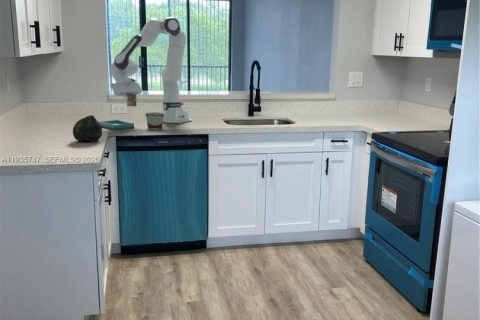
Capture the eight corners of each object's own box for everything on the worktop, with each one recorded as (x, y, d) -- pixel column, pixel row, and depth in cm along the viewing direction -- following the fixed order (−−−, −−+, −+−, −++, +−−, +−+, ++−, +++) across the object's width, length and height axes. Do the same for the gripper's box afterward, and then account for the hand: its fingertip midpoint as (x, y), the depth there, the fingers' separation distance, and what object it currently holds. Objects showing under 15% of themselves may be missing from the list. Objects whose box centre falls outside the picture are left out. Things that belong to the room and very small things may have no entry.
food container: (166, 127, 302) (166, 112, 300) (164, 129, 296) (164, 113, 294) (148, 127, 303) (148, 112, 301) (145, 128, 298) (145, 113, 295)
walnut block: (132, 105, 309) (132, 93, 307) (136, 106, 306) (136, 94, 304) (127, 105, 306) (126, 93, 304) (130, 106, 303) (130, 94, 301)
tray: (117, 124, 312) (117, 119, 311) (134, 128, 298) (133, 123, 298) (98, 126, 302) (98, 121, 302) (114, 130, 289) (114, 125, 288)
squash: (66, 129, 252) (74, 111, 243) (92, 128, 263) (100, 110, 254) (75, 150, 247) (84, 131, 238) (101, 147, 257) (110, 130, 248)
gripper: (111, 80, 299) (119, 96, 295) (138, 79, 314) (146, 95, 309) (108, 86, 303) (116, 103, 299) (134, 85, 318) (143, 101, 313)
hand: (132, 99), depth 304 cm, fingers closed on walnut block, 4 cm apart
